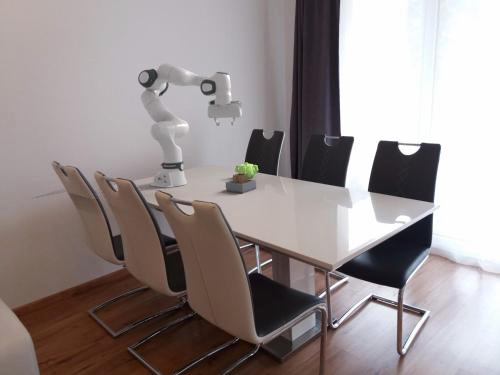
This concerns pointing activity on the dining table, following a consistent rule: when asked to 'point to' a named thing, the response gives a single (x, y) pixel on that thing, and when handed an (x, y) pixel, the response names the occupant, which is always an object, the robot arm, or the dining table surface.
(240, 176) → the walnut crate
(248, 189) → the charcoal crate
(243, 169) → the teapot
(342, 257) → the dining table surface
